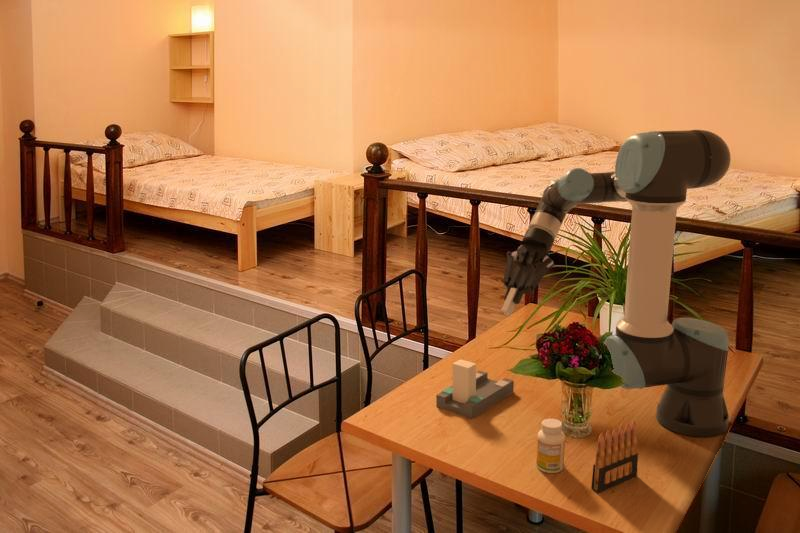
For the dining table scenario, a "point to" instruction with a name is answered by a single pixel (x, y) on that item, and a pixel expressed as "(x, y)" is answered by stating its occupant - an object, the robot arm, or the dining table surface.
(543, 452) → the supplement bottle
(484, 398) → the switch base
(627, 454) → the ammunition clip
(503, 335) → the dining table surface
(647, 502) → the dining table surface
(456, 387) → the switch tab
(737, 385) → the dining table surface
